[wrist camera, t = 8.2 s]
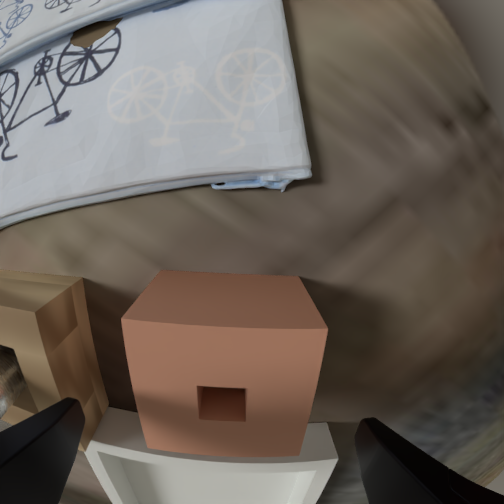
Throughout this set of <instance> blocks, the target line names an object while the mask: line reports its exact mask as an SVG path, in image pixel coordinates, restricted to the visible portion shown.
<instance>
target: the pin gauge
mask: <svg viewBox="0 0 504 504" xmlns="http://www.w3.org/2000/svg"><path fill="white" fill-rule="evenodd" d="M26 386H27V383H26V381H25V378H24V376H23V373H22V371H21V368H20V365H19V362H18V359H17V357H16V354H15V351H14V349H13V348H10V347H7V346H3V345H1V346H0V419H1V418H2V417H3V415H4V414H5V413H6V412H7V410H8V409H9V408H10V406H11V405H12V404H13V402H14V401H15V400H16V399H17V397H18V396H19V395H20V394H21V392H22V391H23V390H24V389H25V387H26Z"/></svg>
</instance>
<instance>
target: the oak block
mask: <svg viewBox="0 0 504 504" xmlns="http://www.w3.org/2000/svg"><path fill="white" fill-rule="evenodd" d="M1 345H3V346H7V347H10V348H13V349H14V351H15V354H16V357H17V359H18V362H19V365H20V368H21V371H22V373H23V376H24V378H25V381H26V383H27V386H26V387H25V389H24V390H23V391H22V392H21V394H20V395H19V396H18V397H17V399H16V400H15V401H14V402H13V404H12V405H11V406H10V408H9V409H8V410H7V412H6V413H5V414H4V415H3V417H2V418H1V419H2V420H4V421H6V422H8V423H10V424H12V425H15V424H17V423H19V422H21V421H23V420H25V419H27V418H29V417H31V416H32V415H34V414H36V413H38V412H40V411H42V410H44V409H46V408H47V407H49V406H51V405H53V404H55V403H57V402H59V401H60V400H62V399H64V398H66V397H71V398H75V399H78V400H79V401H80V403H81V406H82V409H83V412H84V415H85V425H84V429H83V432H82V436H81V439H80V443H79V447H78V450H80V451H83V452H86V450H87V447H88V445H89V443H90V441H91V439H92V437H93V435H94V433H95V431H96V429H97V427H98V425H99V423H100V421H101V419H102V417H103V415H104V413H105V411H106V409H107V407H108V405H109V401H108V398H107V395H106V391H105V388H104V384H103V380H102V376H101V373H100V369H99V365H98V360H97V356H96V352H95V347H94V343H93V338H92V333H91V328H90V322H89V317H88V311H87V304H86V298H85V291H84V283H83V277H72V276H61V275H50V274H39V273H29V272H20V271H10V270H1V269H0V346H1Z"/></svg>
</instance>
